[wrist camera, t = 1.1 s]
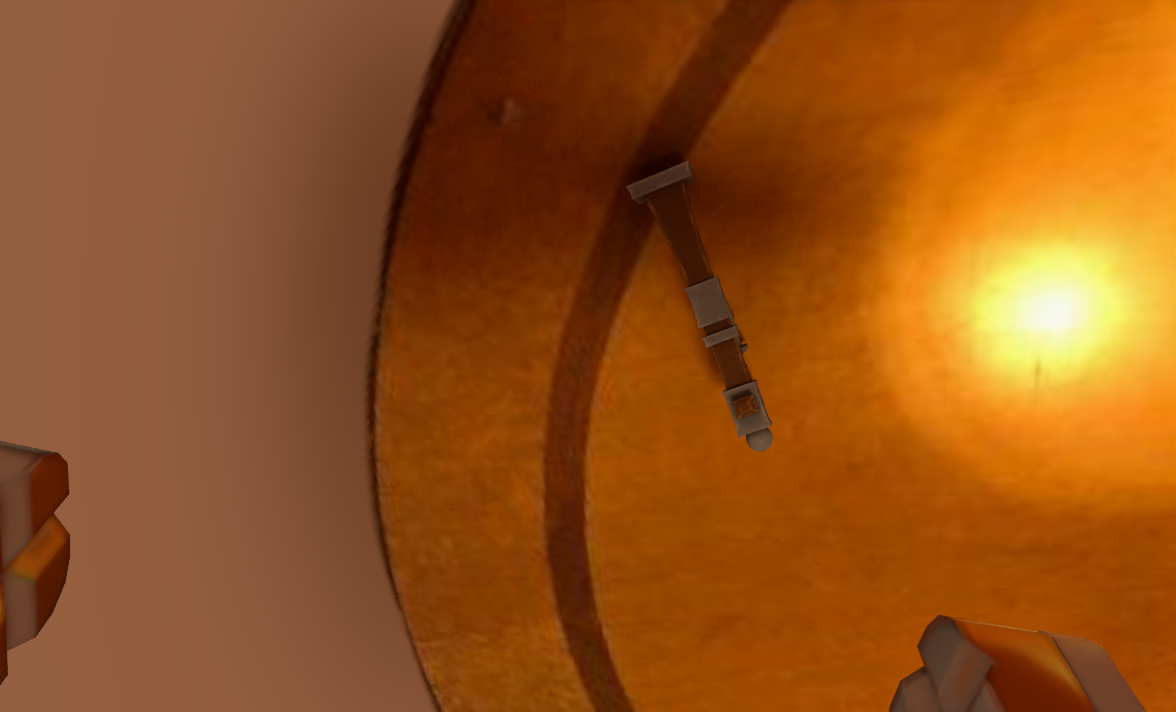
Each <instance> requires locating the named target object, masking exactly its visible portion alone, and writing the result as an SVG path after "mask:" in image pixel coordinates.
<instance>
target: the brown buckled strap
mask: <svg viewBox="0 0 1176 712" xmlns="http://www.w3.org/2000/svg"><path fill="white" fill-rule="evenodd" d="M692 182H695V179H694V178H693V175H692V167H691V165H690V163H689V161H686V162H684V163H682V164H679V165H677V166H674V167H672V168H669V169H667V170H665V171H662V172H660V173H657V174H655V175H653V176H650V177H648V178H645V179H643V180H641V181H638V182H636V183H633V184H631V185H628V186H626V188H627V189H628V190H629V191H630V193H631V195H632V200H634V201H635V202H637V203H638V204H641V203H643V202H646V203H647V205H648V206H649V208H650V210H651V211H652V213H653V215H654V216H655V218H656V220H657V222H658V224H659V226H660V227H661V229H662V231H663V233H664V235H665V237H666V239H667V241H668V243H669V245H670V247H671V249H672V251H673V253H674V255H675V257H676V259H677V261H678V263H679V265H680V267H681V270H682V272H683V275H684V277H685V279H686V282H687V284H688V287H689V288H686V289H684V290H685V292H686V293H687V295H688V297H689V299H690V301H691V304H692V307H693V310H694V312H695V315H696V318H697V323H698V328H699V329H700V328H702V327H703V328H704V331H705V333H706V335H707V336H705V337H703V338H702V339H703V340H704V342H705V346H706V347H709V346H711V349H712V351H713V354H714V361H716V362H717V365H718V367H719V370H720V373H721V376H722V378H723V381H724V384H725V386H726V389H727V390H724V391H723V392H722V394H723V395H724V397H725V399H726V401H727V403H728V406H729V409H730V412H731V414H732V417H733V420H734V423H735V426H736V429H737V434H738V437H740V436H743V435H746V434H747V435H746V441H747V444H748V445H749V447H750V448H752V449H753V450H756V451H764V450H766V449H768V448H769V447H770V445H771V444H772V441H773V436H772V433H771V431H770V430H769V429H768V428H767V427H770V426H772V421H771V420H770V418H769V416H768V414H767V411H766V409H765V406H764V405H765V404H764V401H763V399H762V396H761V393H760V391H759V388H758V385H757V379H756V380H753V381H751V378H750V375H749V372H748V370H747V365H746V364H745V361H744V358H743V355H742V354H743V353H744V351H746V350H747V349H748V344H747V343H746V344H744V345H742V343H741V341H740V339H739V336H738V335H740V333H739V331H738V328H737V325H735V323H734V313H732V311H731V310H730V308H729V306H728V304H727V301H726V299H725V296H724V294H723V291H722V288H721V285H720V280H719V277H718V276H717V277H715V278H714V276H713V273H712V271H711V268H710V265H709V263H708V260H707V258H706V255H705V252H704V248H703V245H702V242H701V238H700V235H699V232H698V228H697V225H696V222H695V218H694V215H693V212H692V208H691V204H690V199H689V195H688V190H687V186H686V185H687V184H690V183H692Z"/></svg>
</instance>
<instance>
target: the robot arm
mask: <svg viewBox="0 0 1176 712" xmlns="http://www.w3.org/2000/svg"><path fill="white" fill-rule="evenodd" d="M68 495H69V481H68V464H67V462H66V461H65V460H64V459H63V458H62V457H61V455H60V454H59V453H56V452H51V451H46V450H41V449H37V448H31V447H27V446H22V445H17V444H12V443H7V442H2V441H0V685H1V683H2V682H3V681H4V679H5V678H6V677H7V675H8V667H7V666H8V665H7V651H8V650H10V649H12V648H14V647H16V646H18V645H21V644H23V643H25V642H27V641H29V640H31V639H33V638H35V637H36V636H37V635H38V633H39V632H40V630H41V629H42V627H43V626H44V624H45V623H46V622H47V620H48V619H49V617H50V616H51V615H52V613H53V611H54V608H55V606H56V603H57V601H58V599H59V596H60V594H61V592H62V589H63V586H64V584H65V581H66V576H67V571H68V565H69V560H70V534H69V533H68V531H67V530H66V529H65V527H64V526H63V525H62V523H61V522H60V521H59V520H58V518H57V517H56V516H55V514H54V512H55V510H56V509H57V508H58V507H59V506H60V504H61V503H62V502H63V501H64V500H65V498H66V497H67V496H68ZM917 647H918V650H919V653H920V655H921V658H922V661H923V664H924V666H923V667H922V668H920V669H918V670H917V671H915V672H914V673H912V674H910V675H909V676H907V677H906V678H904V679H902V680H901V681H900V683H899V686H898V688H897V691H896V693H895V695H894V698H893V700H892V702H891V705H890V707H889V712H1146V711H1145V710H1144V708H1143V707H1142V705H1141V704H1140V702H1139V701H1138V699H1137V698H1136V696H1135V695H1134V693H1133V692H1132V690H1131V689H1130V687H1129V686H1128V684H1127V682H1126V681H1125V679H1124V678H1123V676H1122V675H1121V673H1120V672H1119V670H1118V669H1117V667H1116V666H1115V664H1114V663H1113V661H1112V660H1111V658H1110V657H1109V655H1108V654H1107V652H1106V651H1105V649H1104V648H1103V647H1101V646H1100V645H1098V644H1097V643H1096V642H1094V641H1093V640H1091V639H1090V638H1084V637H1077V636H1071V635H1064V634H1058V633H1051V632H1045V631H1038V632H1034V631H1028V630H1022V629H1017V628H1011V627H1005V626H1000V625H994V624H988V623H983V622H977V621H971V620H966V619H960V618H954V617H949V616H943V615H938V616H937V617H936V618H935V619H934V620H933V621H932V622H931V623H930V624H929V625H928V626H927V627H926V629H925V631H924V633H923V635H922V637H921V639H920V641H919V643H918V645H917Z"/></svg>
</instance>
